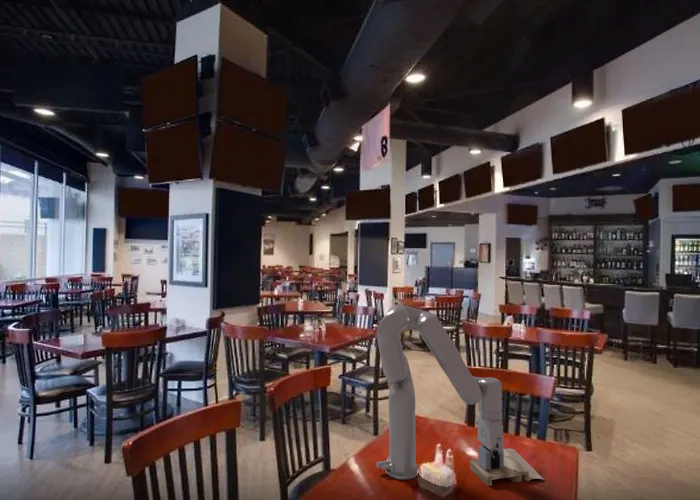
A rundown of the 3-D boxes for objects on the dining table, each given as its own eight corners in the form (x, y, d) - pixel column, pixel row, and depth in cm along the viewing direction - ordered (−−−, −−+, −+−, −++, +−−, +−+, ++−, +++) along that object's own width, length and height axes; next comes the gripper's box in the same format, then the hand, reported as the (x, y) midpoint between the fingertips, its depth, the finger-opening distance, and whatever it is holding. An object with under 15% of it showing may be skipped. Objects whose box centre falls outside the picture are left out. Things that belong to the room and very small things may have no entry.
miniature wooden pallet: (487, 486, 153) (487, 476, 153) (470, 469, 164) (470, 460, 164) (528, 480, 156) (528, 470, 156) (508, 464, 168) (508, 455, 168)
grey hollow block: (485, 469, 156) (485, 452, 156) (478, 463, 161) (478, 446, 161) (503, 467, 158) (503, 449, 158) (495, 460, 163) (495, 443, 163)
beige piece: (544, 483, 156) (544, 478, 156) (525, 484, 155) (525, 478, 155) (514, 452, 179) (514, 448, 179) (497, 453, 179) (497, 448, 179)
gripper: (469, 406, 167) (469, 455, 167) (494, 423, 150) (494, 477, 150) (487, 404, 169) (487, 452, 169) (513, 421, 152) (514, 474, 152)
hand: (490, 463), depth 160 cm, fingers closed on grey hollow block, 5 cm apart
